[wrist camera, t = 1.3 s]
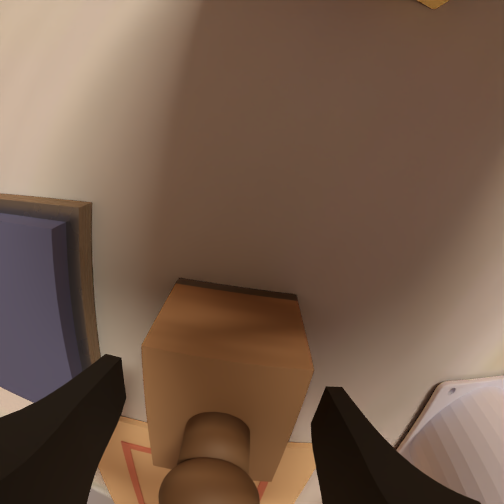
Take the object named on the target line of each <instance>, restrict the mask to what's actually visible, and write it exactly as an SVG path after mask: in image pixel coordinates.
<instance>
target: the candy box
mask: <svg viewBox="0 0 504 504" xmlns="http://www.w3.org/2000/svg"><path fill="white" fill-rule="evenodd" d="M417 1H419V2H421V3H422V4H424V5H426V6H428V7H429V8H431V9H436V8H438V7H440V6H441V5H443V4H444V3H446V2H447V1H449V0H417Z"/></svg>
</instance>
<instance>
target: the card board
mask: <svg viewBox="0 0 504 504" xmlns="http://www.w3.org/2000/svg"><path fill="white" fill-rule="evenodd" d="M98 467H99V470H100V472H101V475H102V477H103V479H104V482H105V484H106V486H107V488H108V490H109V493H110V495H111V497H112V499H113V501H114V503H115V504H159V498H158V494H159V489H160V486H161V483H162V481H163V479H164V478H165V476H166V475H167V474H168V472H169V471H171V470H172V469H167V468H162V467H158V466H154V465H153V461H152V454H151V447H150V440H149V432H148V423H146V422H142V421H138V420H134V419H130V418H126V417H123V416H120V419H119V421H118V424H117V426H116V428H115V430H114V432H113V434H112V437H111V439H110V441H109V443H108V445H107V447H106V449H105V452H104V454H103V456H102V458H101V460H100V463H99V465H98ZM315 468H316V465H315V459H314V454H313V449H312V443H291V442H288V443H287V446H286V448H285V451H284V453H283V456H282V458H281V461H280V463H279V465H278V468H277V470H276V472H275V475H274V477H273V479H272V482H265V481H253V482H254V483H255V485H256V487H257V490H258V493H259V498H260V504H294V502H295V501H296V499H297V497H298V496H299V494H300V493H301V491H302V490H303V488H304V486H305V485H306V483H307V481H308V480H309V478H310V476H311V475H312V473H313V471H314V470H315Z"/></svg>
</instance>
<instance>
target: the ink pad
mask: <svg viewBox="0 0 504 504" xmlns="http://www.w3.org/2000/svg"><path fill="white" fill-rule="evenodd" d="M91 213H92V202H83V201H73V200H64V199H54V198H44V197H34V196H23V195H12V194H0V387H2V388H4V389H6V390H8V391H10V392H12V393H14V394H16V395H18V396H20V397H22V398H25V399H27V400H29V401H31V402H34V403H35V402H37V401H39V400H40V399H42V398H44V397H46V396H47V395H49V394H50V393H52V392H53V391H55V390H57V389H58V388H60V387H61V386H63V385H64V384H66V383H67V382H68V381H70V380H71V379H73V378H74V377H75V376H77V375H78V374H80V373H81V372H82V371H84V370H85V369H86V368H88V367H89V366H90V365H92V364H93V363H94V362H96V361H97V360H98V359H100V358H101V357H100V350H99V342H98V334H97V325H96V315H95V304H94V291H93V275H92V246H91Z"/></svg>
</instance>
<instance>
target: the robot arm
mask: <svg viewBox="0 0 504 504" xmlns="http://www.w3.org/2000/svg"><path fill="white" fill-rule="evenodd" d="M125 400H126V393H125V385H124V377H123V369H122V360H121V358H120V357H116V356H112V355H108V354H105V355H104V356H102V357H101V358H100V359H98V360H97V361H96V362H94V363H93V364H92V365H90V366H89V367H88V368H86V369H85V370H84V371H82V372H81V373H80V374H78V375H77V376H75V377H74V378H73V379H71V380H70V381H68V382H67V383H66V384H64V385H63V386H61V387H60V388H58V389H57V390H55V391H53V392H52V393H50V394H49V395H47V396H46V397H44V398H42V399H40V400H39V401H37V402H35V403H33V404H31V405H29V406H27V407H25V408H23V409H21V410H18V411H16V412H13V413H11V414H8V415H6V416H3V417H0V504H87V500H88V496H89V492H90V489H91V485H92V482H93V479H94V475H95V472H96V470H97V467H98V465H99V463H100V460H101V458H102V456H103V454H104V452H105V449H106V447H107V445H108V443H109V441H110V439H111V437H112V434H113V432H114V430H115V428H116V426H117V424H118V421H119V419H120V416H121V413H122V410H123V406H124V403H125ZM311 436H312V449H313V454H314V459H315V465H316V470H317V475H318V480H319V485H320V491H321V496H322V503H323V504H504V375H502V376H494V377H486V378H477V379H467V380H455V381H445V382H442V383H440V384H439V385H438V386H437V388H436V389H435V391H434V393H433V394H432V396H431V398H430V400H429V401H428V403H427V405H426V406H425V408H424V409H423V411H422V413H421V414H420V416H419V417H418V419H417V420H416V422H415V424H414V425H413V427H412V428H411V430H410V431H409V433H408V434H407V435H406V437H405V438H404V440H403V441H402V443H401V444H400V445H399V447H398V448H397V450H395V449H394V448H393V447H392V446H391V445H390V444H389V443H388V442H387V441H386V440H385V439H384V438H383V437H382V436H381V434H380V433H379V432H378V431H377V430H376V429H375V428H374V427H373V425H372V424H371V423H370V422H369V421H368V419H367V418H366V417H365V416H364V415H363V413H362V412H361V411H360V410H359V408H358V407H357V406H356V404H355V403H354V402H353V401H352V399H351V398H350V397H349V395H348V394H347V393H346V392H345V390H344V389H343V388H342V387H326V388H325V390H324V393H323V395H322V398H321V400H320V403H319V405H318V408H317V410H316V412H315V415H314V417H313V420H312V422H311Z"/></svg>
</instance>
